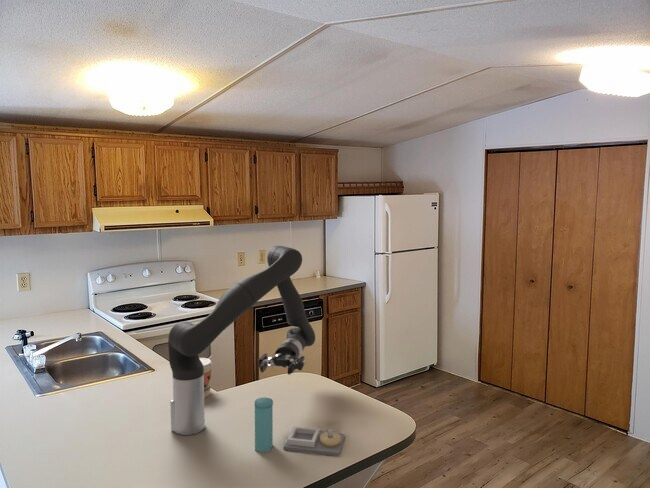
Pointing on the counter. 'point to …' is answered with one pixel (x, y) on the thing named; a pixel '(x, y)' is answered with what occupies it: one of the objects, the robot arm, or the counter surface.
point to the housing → (315, 441)
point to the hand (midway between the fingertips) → (275, 370)
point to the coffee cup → (206, 375)
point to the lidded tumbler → (263, 424)
